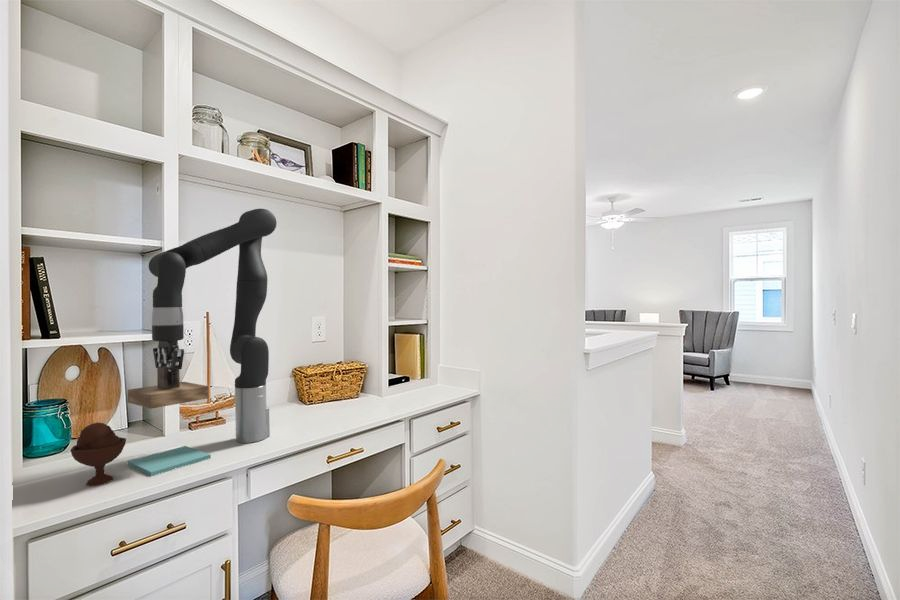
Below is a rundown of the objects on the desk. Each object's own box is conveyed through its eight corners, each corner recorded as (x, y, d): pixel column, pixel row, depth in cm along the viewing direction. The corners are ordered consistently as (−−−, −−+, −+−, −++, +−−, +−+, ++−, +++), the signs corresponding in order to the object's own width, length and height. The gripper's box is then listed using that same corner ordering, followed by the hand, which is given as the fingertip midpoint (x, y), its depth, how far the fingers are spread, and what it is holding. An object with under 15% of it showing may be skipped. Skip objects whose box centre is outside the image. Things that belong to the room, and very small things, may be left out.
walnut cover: (183, 393, 134) (183, 361, 134) (208, 398, 126) (208, 365, 126) (127, 402, 122) (127, 368, 122) (150, 408, 114) (150, 371, 114)
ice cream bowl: (132, 479, 111) (131, 420, 111) (75, 494, 103) (73, 430, 103) (122, 469, 118) (120, 413, 118) (67, 483, 110) (66, 423, 110)
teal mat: (185, 449, 134) (185, 445, 134) (210, 458, 126) (210, 454, 126) (127, 464, 122) (127, 461, 122) (151, 476, 113) (151, 472, 113)
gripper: (194, 323, 123) (195, 384, 123) (170, 322, 131) (171, 380, 131) (164, 324, 117) (165, 389, 117) (141, 324, 125) (142, 384, 125)
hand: (168, 384), depth 124 cm, fingers closed on walnut cover, 4 cm apart
